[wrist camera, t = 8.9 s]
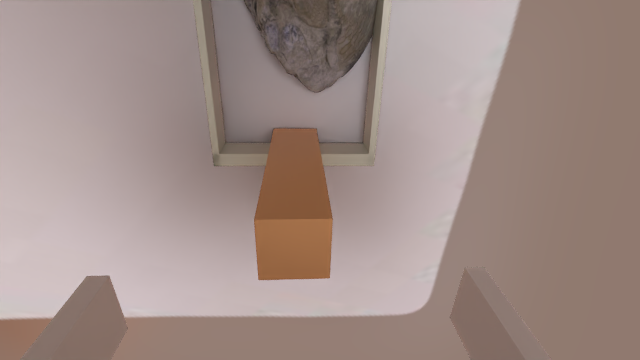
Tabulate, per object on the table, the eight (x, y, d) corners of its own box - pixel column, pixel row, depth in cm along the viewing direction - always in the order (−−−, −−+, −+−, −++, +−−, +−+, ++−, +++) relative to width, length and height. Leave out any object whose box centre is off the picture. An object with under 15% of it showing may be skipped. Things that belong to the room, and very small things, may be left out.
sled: (186, -139, 19) (-6, -418, 7) (395, -126, 20) (548, -355, 8) (222, 167, 28) (164, 282, 16) (366, 167, 29) (417, 276, 16)
